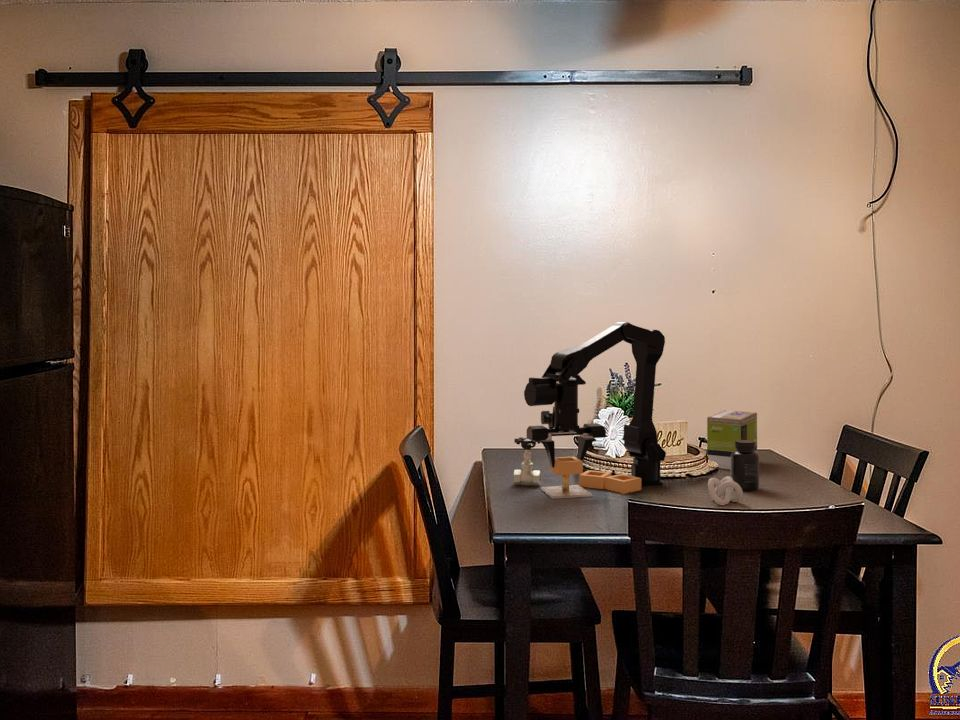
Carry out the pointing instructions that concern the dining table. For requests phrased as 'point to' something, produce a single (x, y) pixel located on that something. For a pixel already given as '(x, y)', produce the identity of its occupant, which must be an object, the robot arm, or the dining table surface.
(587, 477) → the chain link
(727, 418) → the tea box
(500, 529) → the dining table surface
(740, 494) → the knot
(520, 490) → the dining table surface
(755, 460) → the supplement bottle
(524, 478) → the valve
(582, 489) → the plate with brass peg
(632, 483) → the chain link
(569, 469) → the end link
